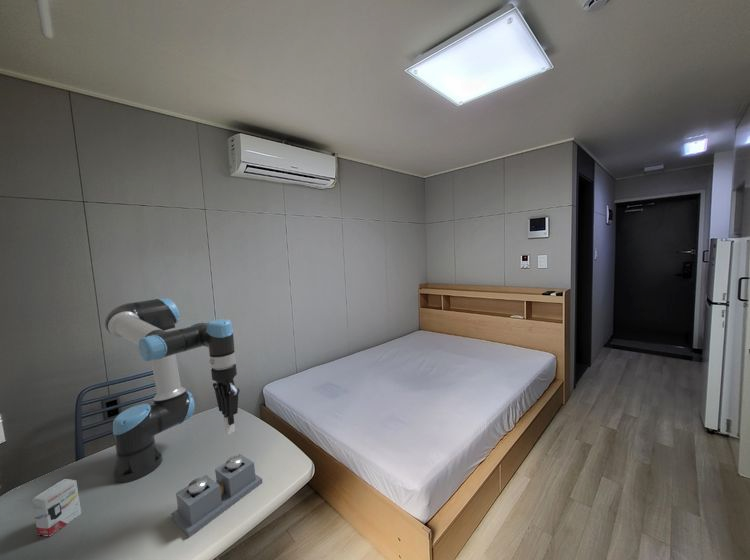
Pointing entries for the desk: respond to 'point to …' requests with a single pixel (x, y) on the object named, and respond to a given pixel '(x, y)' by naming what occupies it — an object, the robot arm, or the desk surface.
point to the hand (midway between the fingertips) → (230, 432)
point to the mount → (214, 496)
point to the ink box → (56, 506)
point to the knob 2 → (234, 463)
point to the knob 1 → (197, 486)
